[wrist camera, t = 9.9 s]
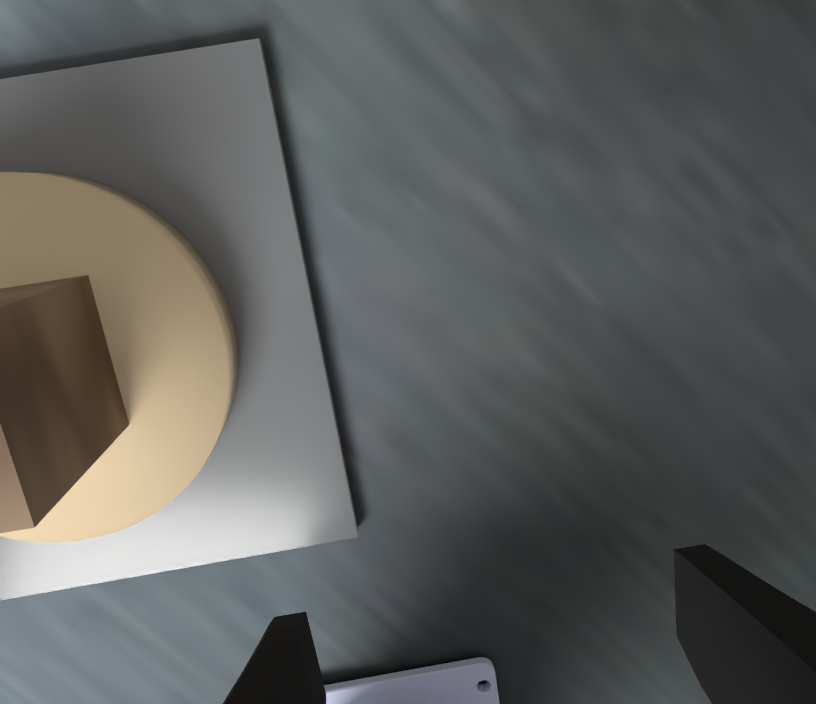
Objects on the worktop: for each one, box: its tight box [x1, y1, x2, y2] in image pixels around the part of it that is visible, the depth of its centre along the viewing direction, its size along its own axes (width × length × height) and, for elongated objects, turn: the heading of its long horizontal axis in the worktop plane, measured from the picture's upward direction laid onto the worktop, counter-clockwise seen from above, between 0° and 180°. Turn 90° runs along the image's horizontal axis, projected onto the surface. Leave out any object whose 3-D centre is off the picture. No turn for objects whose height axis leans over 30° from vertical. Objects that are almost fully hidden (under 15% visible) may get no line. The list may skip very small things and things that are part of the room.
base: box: [0, 38, 358, 600], centre depth 20 cm, size 16×16×2 cm
